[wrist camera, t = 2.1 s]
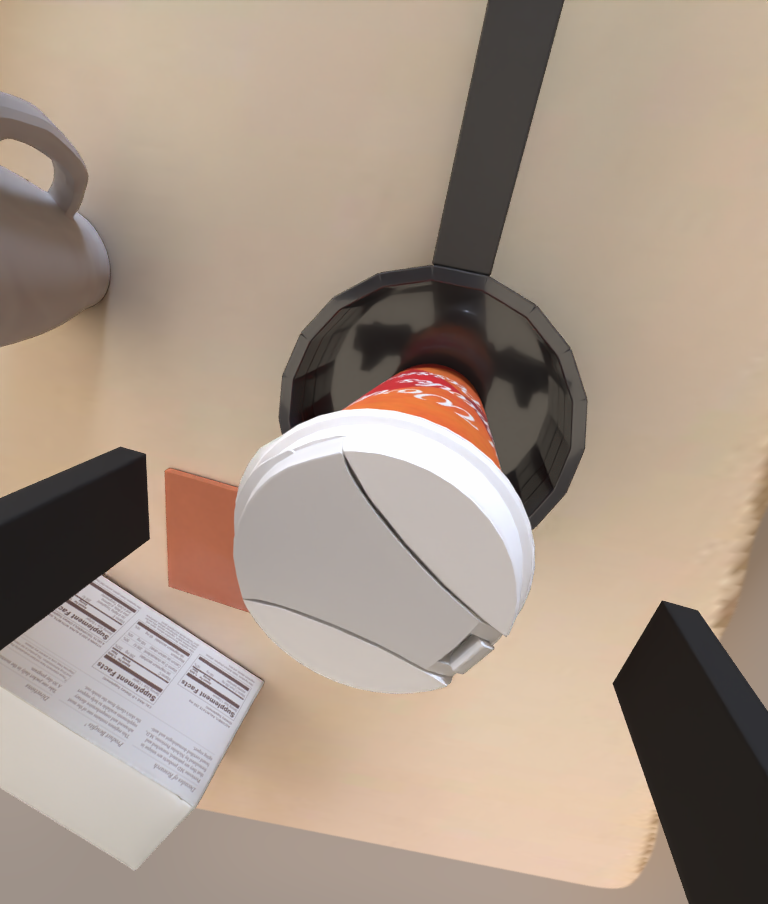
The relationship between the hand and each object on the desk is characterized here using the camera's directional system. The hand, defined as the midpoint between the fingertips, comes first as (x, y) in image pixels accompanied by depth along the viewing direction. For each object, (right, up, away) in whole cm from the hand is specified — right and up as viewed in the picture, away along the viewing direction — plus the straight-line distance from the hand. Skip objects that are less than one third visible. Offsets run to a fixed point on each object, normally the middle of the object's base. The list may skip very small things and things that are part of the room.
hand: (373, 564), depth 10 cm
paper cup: (+3, +5, +12) cm, 13 cm away
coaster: (-10, -4, +18) cm, 21 cm away
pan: (+3, +5, +12) cm, 13 cm away
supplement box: (-20, -16, +25) cm, 36 cm away
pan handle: (+4, +15, +5) cm, 17 cm away
